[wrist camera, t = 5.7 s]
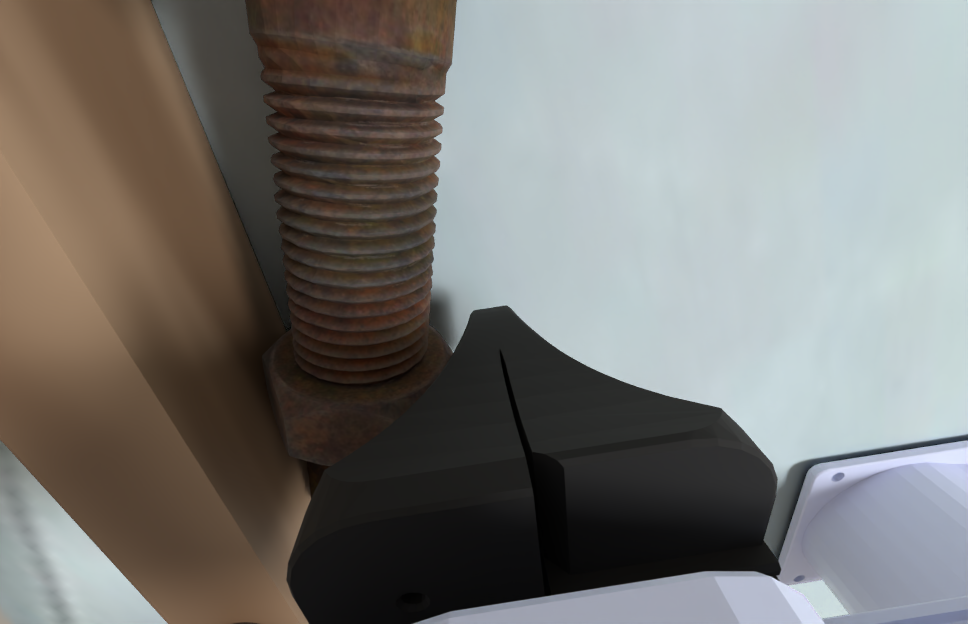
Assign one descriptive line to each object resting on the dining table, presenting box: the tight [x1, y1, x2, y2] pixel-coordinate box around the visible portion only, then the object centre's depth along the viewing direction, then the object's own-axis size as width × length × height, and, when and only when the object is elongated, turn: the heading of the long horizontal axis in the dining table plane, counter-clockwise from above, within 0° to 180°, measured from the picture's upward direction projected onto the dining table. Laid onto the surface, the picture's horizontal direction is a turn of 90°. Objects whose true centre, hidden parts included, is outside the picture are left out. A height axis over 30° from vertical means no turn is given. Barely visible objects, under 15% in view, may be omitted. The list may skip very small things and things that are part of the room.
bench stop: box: [0, 0, 311, 624], centre depth 10 cm, size 3×20×7 cm, turn 8°
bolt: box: [245, 0, 457, 498], centre depth 9 cm, size 6×5×15 cm
